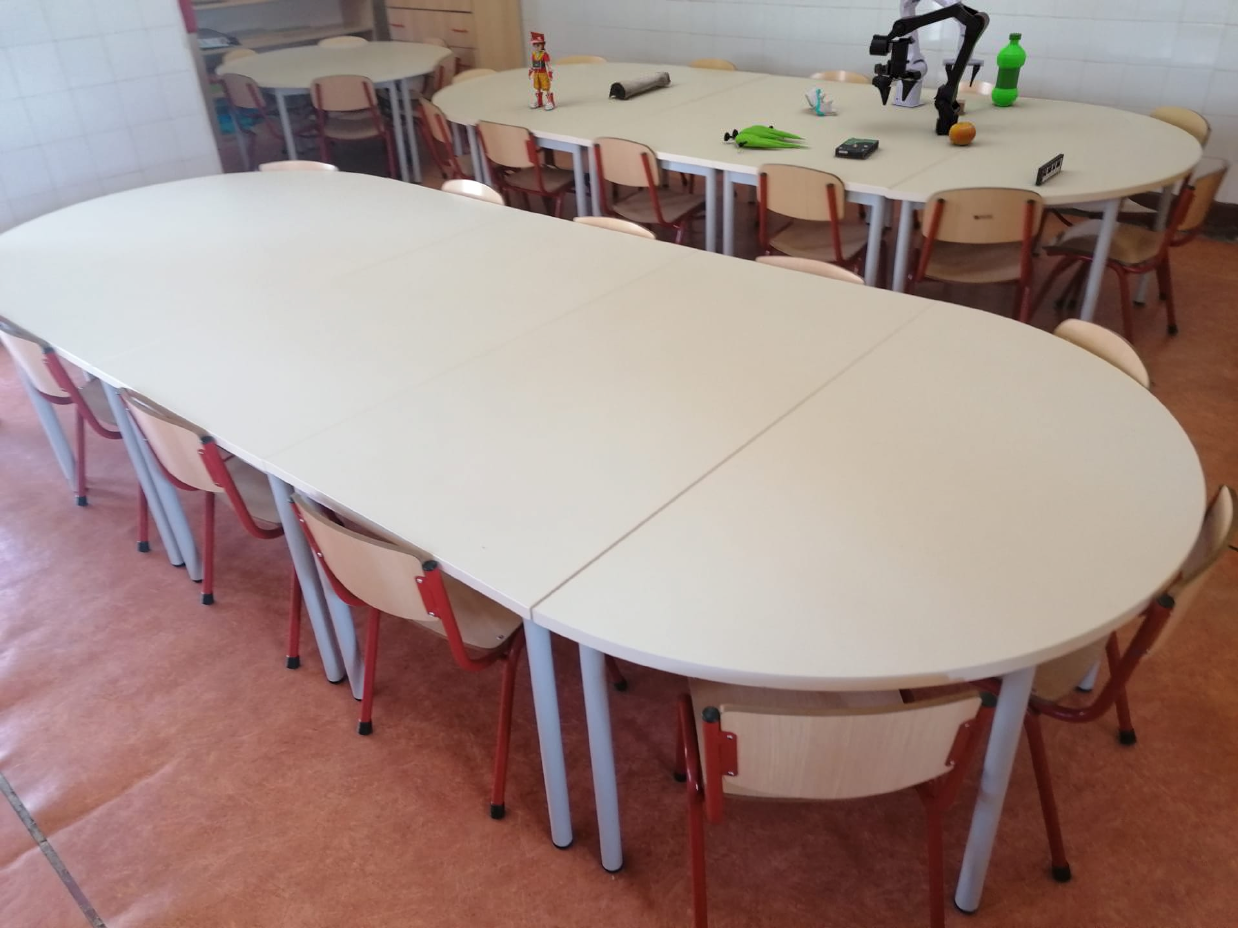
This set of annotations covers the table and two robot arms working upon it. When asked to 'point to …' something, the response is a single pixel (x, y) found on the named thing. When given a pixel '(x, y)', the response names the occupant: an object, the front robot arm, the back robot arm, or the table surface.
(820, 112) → the anatomical model
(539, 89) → the toy
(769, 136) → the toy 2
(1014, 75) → the plastic bottle
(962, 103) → the block
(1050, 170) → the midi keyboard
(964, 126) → the fruit
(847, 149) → the disk drive
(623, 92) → the rolled mat
